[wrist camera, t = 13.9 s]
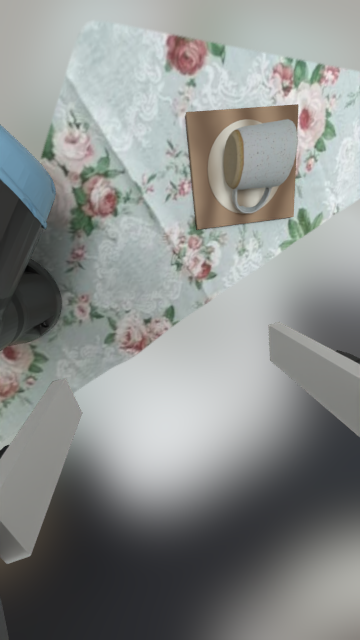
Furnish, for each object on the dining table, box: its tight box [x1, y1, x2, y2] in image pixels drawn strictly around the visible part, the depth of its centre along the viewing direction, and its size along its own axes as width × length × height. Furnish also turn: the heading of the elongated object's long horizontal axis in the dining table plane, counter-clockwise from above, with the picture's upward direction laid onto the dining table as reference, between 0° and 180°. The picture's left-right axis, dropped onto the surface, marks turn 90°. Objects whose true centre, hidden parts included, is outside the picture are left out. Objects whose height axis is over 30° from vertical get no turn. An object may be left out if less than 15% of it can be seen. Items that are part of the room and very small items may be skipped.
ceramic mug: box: [223, 119, 298, 213], centre depth 31 cm, size 11×8×8 cm
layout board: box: [185, 105, 298, 230], centre depth 34 cm, size 18×16×1 cm
